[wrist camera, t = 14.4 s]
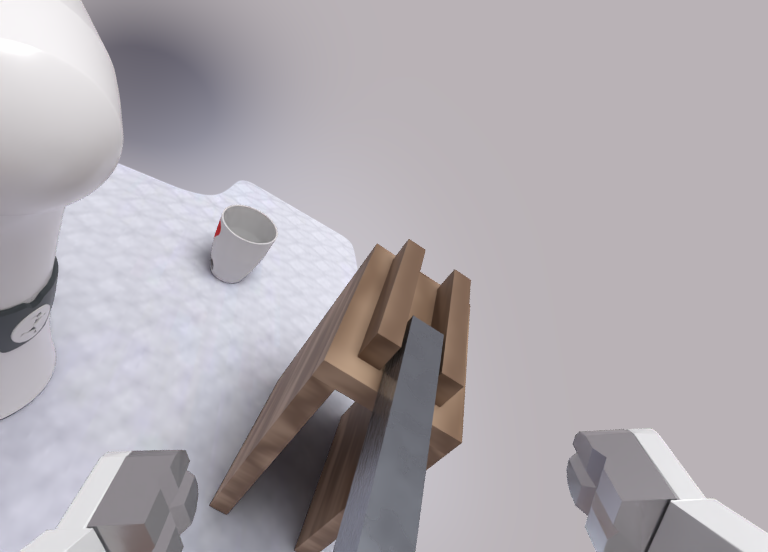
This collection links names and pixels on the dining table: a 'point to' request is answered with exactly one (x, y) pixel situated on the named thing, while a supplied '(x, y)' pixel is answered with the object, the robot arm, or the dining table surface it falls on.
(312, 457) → the dining table surface
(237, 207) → the cup
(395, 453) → the bar
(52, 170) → the robot arm
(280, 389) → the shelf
